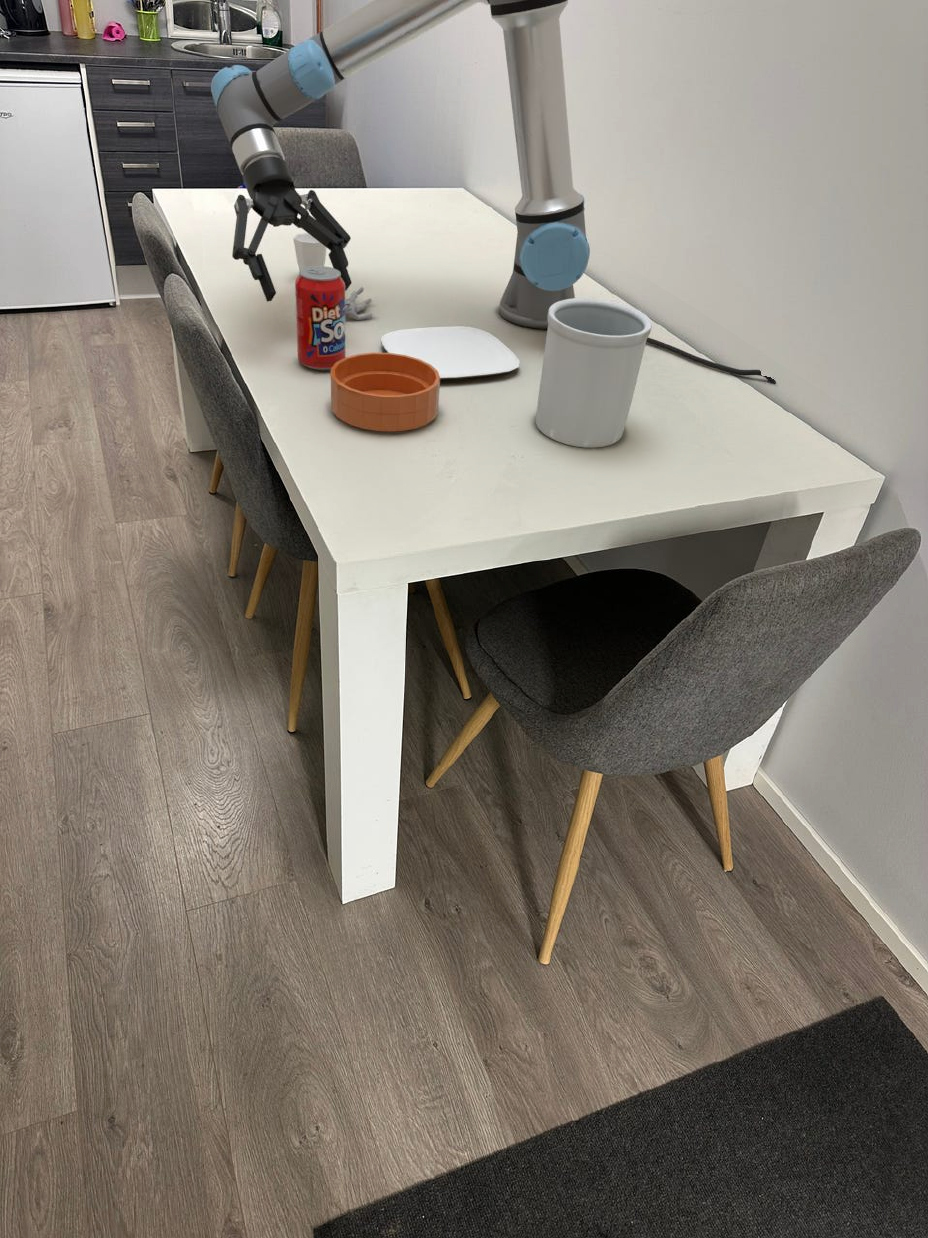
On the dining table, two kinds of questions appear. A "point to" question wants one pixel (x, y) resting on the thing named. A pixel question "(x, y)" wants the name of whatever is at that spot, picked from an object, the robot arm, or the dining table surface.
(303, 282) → the soda can
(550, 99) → the robot arm
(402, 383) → the bowl
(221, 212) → the dining table surface
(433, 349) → the plate
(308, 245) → the cup
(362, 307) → the soldier figure
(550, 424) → the utensil holder
